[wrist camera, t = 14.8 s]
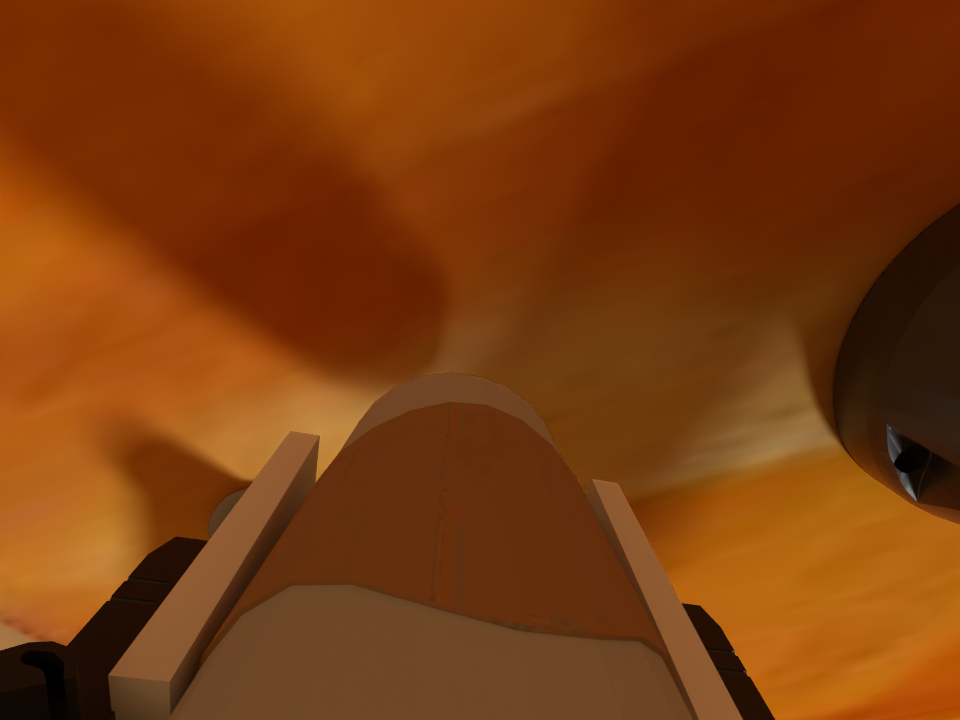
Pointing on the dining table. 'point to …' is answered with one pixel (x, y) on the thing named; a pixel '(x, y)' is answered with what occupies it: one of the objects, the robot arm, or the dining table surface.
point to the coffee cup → (440, 583)
